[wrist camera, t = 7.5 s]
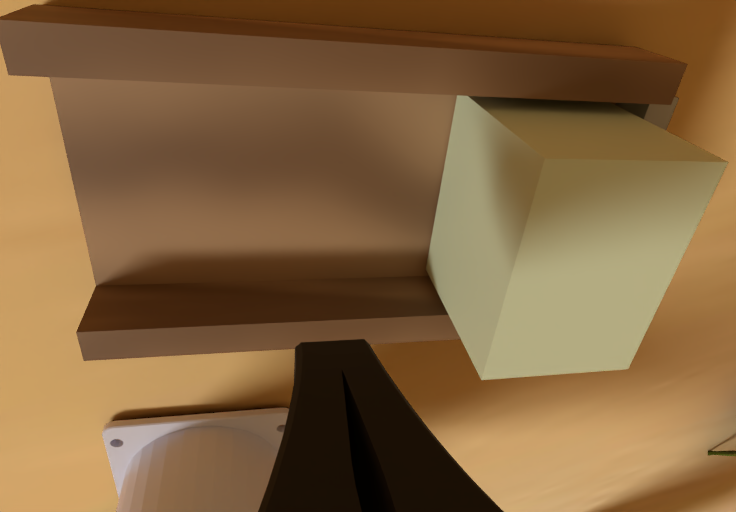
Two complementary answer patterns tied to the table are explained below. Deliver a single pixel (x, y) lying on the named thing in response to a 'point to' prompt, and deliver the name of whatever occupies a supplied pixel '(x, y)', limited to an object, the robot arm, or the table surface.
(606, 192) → the block
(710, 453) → the pomegranate
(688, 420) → the table surface
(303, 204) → the chute
